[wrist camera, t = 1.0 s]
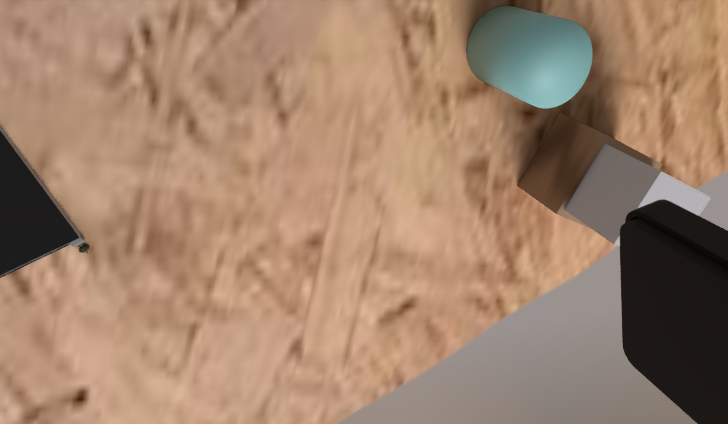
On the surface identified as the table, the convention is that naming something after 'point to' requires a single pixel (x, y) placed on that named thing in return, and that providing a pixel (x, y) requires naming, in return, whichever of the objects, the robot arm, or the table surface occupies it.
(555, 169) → the walnut base block
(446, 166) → the table surface
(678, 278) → the robot arm
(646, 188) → the grey top block
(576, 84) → the teal cylinder
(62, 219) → the black flat plate
